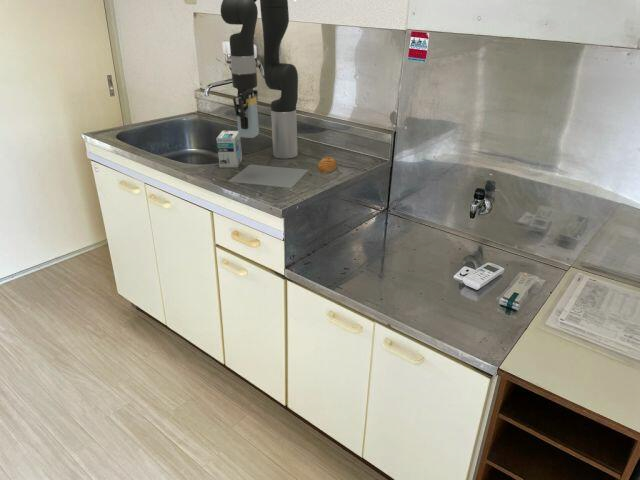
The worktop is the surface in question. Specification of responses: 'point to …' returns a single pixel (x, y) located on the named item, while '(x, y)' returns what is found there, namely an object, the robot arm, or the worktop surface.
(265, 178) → the mat
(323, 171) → the pastry
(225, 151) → the light bulb box
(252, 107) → the block
